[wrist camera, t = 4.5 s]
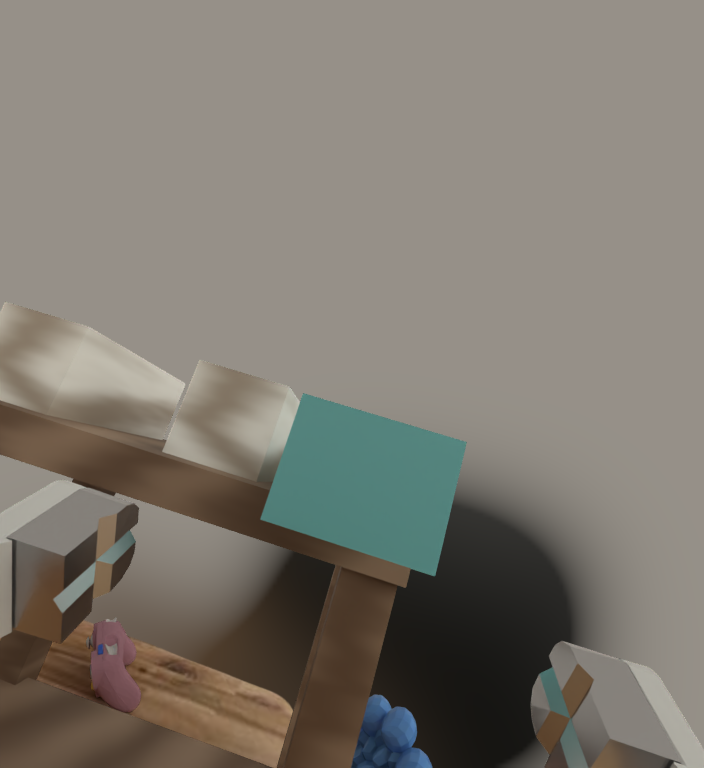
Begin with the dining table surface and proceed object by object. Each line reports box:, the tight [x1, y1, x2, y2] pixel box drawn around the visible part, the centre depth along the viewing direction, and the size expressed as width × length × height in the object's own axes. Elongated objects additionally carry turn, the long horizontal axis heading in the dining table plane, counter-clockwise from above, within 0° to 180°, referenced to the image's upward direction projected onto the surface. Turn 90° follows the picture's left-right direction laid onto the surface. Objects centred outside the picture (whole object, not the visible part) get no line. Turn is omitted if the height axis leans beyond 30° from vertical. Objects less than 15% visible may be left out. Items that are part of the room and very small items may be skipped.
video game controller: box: [86, 618, 141, 712], centre depth 43 cm, size 10×5×7 cm, turn 32°
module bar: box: [260, 393, 467, 576], centre depth 21 cm, size 4×24×3 cm, turn 0°
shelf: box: [0, 302, 411, 768], centre depth 24 cm, size 25×18×31 cm
